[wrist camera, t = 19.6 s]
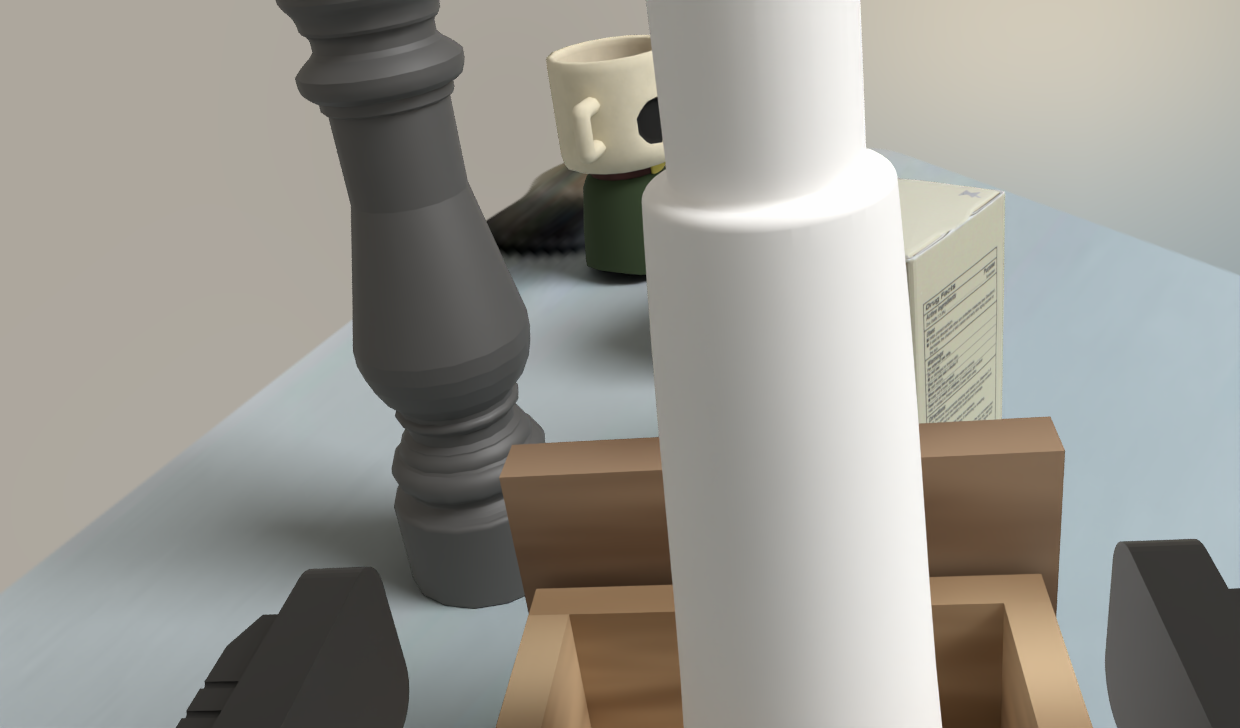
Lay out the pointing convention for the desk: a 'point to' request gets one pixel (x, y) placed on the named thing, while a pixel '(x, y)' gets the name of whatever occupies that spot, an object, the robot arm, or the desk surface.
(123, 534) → the desk surface
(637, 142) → the character mug
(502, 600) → the candle holder
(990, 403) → the skincare box
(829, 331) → the cosmetic bottle
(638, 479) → the wooden box caddy
